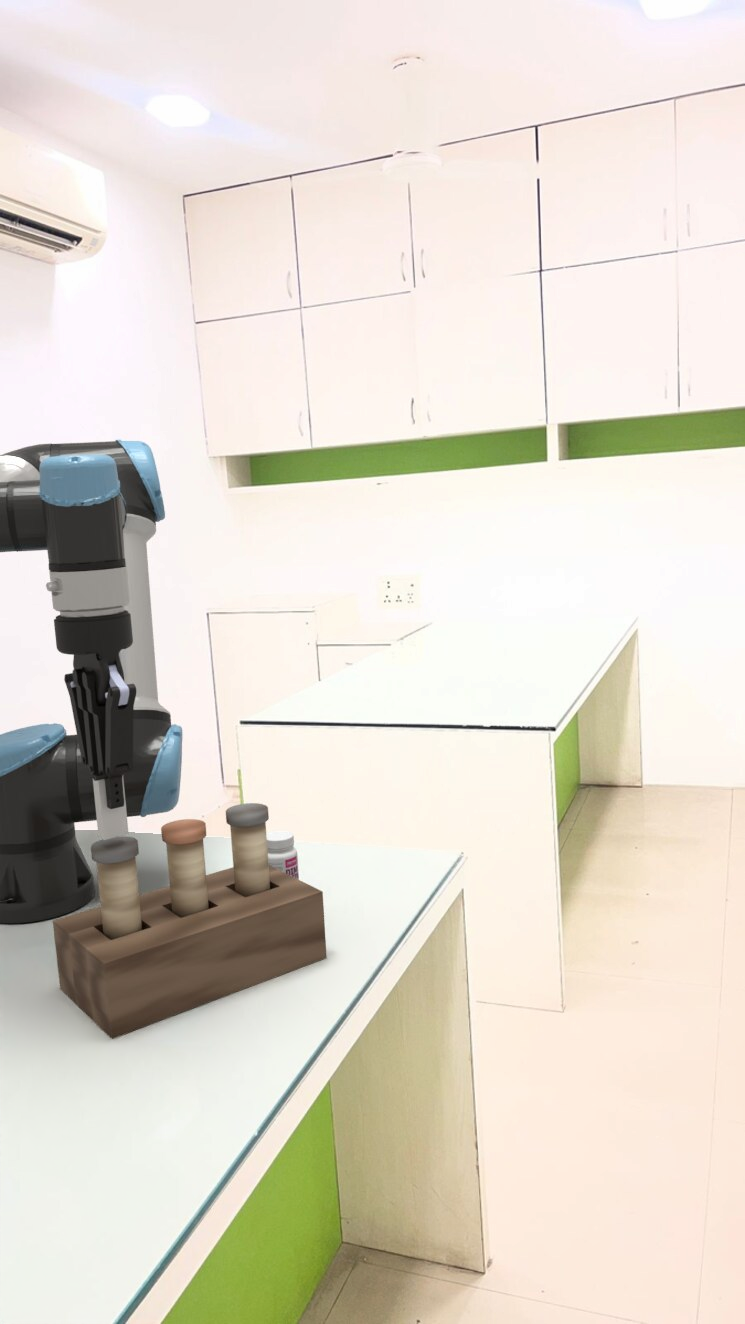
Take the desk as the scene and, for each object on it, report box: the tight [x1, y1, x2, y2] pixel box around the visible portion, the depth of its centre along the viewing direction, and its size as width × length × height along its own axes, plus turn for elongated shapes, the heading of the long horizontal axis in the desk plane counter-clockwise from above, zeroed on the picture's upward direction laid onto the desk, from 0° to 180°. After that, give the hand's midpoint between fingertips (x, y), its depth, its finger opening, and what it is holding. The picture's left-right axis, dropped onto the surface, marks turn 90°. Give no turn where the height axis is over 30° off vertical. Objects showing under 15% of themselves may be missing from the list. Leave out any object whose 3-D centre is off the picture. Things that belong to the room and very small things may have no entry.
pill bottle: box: [266, 830, 300, 880], centre depth 136 cm, size 5×5×8 cm
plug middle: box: [160, 818, 209, 918], centre depth 114 cm, size 5×5×12 cm
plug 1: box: [90, 835, 142, 940], centre depth 110 cm, size 5×5×12 cm
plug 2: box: [225, 802, 270, 897], centre depth 119 cm, size 5×5×12 cm
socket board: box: [52, 865, 328, 1040], centre depth 116 cm, size 14×26×8 cm, turn 127°
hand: (113, 835), depth 109 cm, fingers closed
